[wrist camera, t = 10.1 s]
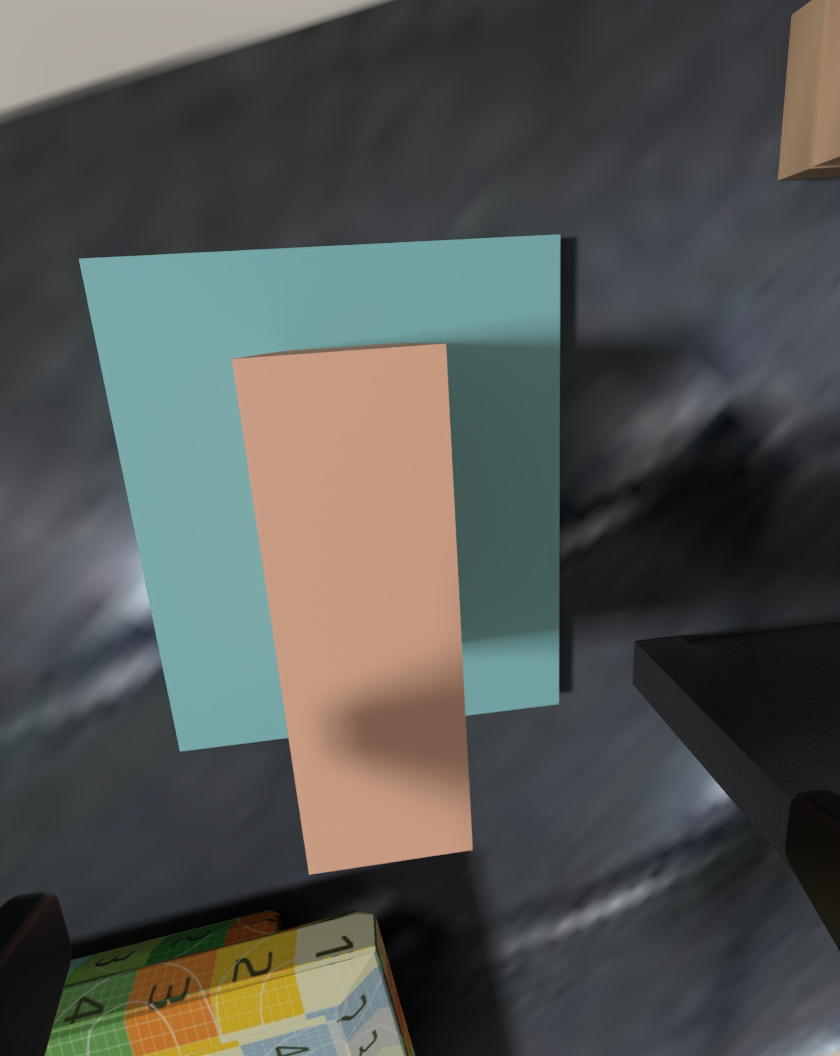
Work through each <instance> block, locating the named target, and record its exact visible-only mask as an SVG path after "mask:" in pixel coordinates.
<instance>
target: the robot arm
mask: <svg viewBox="0 0 840 1056" xmlns="http://www.w3.org/2000/svg"><path fill="white" fill-rule="evenodd" d="M784 846H785V853H786V857H787V860H788V862H789V864H790V866H791V868H792V870H793V872H794V873H795V875H796V877H797V879H798V880H799V882H800V884H801V885H802V887H803V889H804V891H805V892H806V894H807V896H808V898H809V899H810V901H811V903H812V904H813V906H814V908H815V910H816V911H817V913H818V915H819V916H820V918H821V920H822V922H823V923H824V925H825V927H826V928H827V930H828V932H829V934H830V935H831V937H832V939H833V940H834V942H835V944H836V946H837V947H838V949H839V951H840V795H838V794H836V793H834V792H831V791H828V790H815V791H807V792H800V793H797V794H795V795H794V796H793V798H792V799H791V802H790V807H789V814H788V821H787V828H786V835H785V844H784ZM71 952H72V951H71V942H70V938H69V935H68V931H67V928H66V924H65V921H64V917H63V913H62V910H61V906H60V903H59V900H58V898H57V896H56V895H55V894H54V893H53V892H49V891H44V892H37V893H29V894H21V895H18V896H15V897H13V898H11V899H10V900H8V901H7V902H6V903H5V904H3V905H2V906H1V907H0V1056H45V1054H46V1051H47V1047H48V1043H49V1040H50V1036H51V1033H52V1029H53V1026H54V1022H55V1018H56V1015H57V1011H58V1008H59V1004H60V1001H61V997H62V993H63V990H64V986H65V983H66V979H67V976H68V972H69V968H70V963H71Z"/></svg>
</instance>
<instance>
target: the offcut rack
mask: <svg viewBox="0 0 840 1056" xmlns="http://www.w3.org/2000/svg"><path fill="white" fill-rule="evenodd" d="M633 685H634V686H635V687H636V688H637V689H638V690H639V692H640V693H641V694H642V695H643V696H644V697H645V699H646V700H647V701H648V702H649V703H650V704H651V706H652V707H653V708H654V709H655V710H656V711H657V713H658V714H659V715H660V716H661V717H662V719H663V720H664V721H665V722H666V723H667V724H668V726H669V727H670V728H671V729H672V730H673V731H674V733H675V734H676V735H677V736H678V737H679V738H680V740H681V741H682V742H683V743H684V744H685V746H686V747H687V748H688V749H689V750H690V751H691V753H692V754H693V755H694V756H695V757H696V758H697V760H698V761H699V762H700V763H701V764H702V765H703V767H704V768H705V769H706V770H707V771H708V772H709V774H710V775H711V776H712V777H713V778H714V780H715V781H716V782H717V783H718V784H719V785H720V787H721V788H722V789H723V790H724V791H725V792H726V794H727V795H728V796H729V797H730V798H731V799H732V801H733V802H734V803H735V804H736V805H737V806H738V808H739V809H740V810H741V811H742V812H743V814H744V815H745V816H746V817H747V818H748V819H749V821H750V822H751V823H752V824H753V825H754V826H755V828H756V829H757V830H758V831H759V832H760V833H761V835H762V836H763V837H764V838H765V839H766V841H767V842H768V843H769V844H770V845H771V846H772V848H773V849H774V850H775V851H776V852H777V853H778V855H779V856H780V857H781V858H782V859H783V860H784V862H785V863H786V864H787V865H788V866H789V867H790V869H791V870H792V868H791V866H790V864H789V862H788V860H787V857H786V853H785V846H784V844H785V835H786V828H787V821H788V814H789V807H790V802H791V799H792V798H793V796H794V795H795V794H797V793H800V792H807V791H815V790H828V791H831V792H834V793H836V794H838V795H840V623H835V624H826V625H818V626H809V627H801V628H792V629H784V630H775V631H767V632H758V633H750V634H741V635H733V636H724V637H716V638H707V639H699V640H690V641H686V640H685V639H683V638H682V637H681V636H679V637H670V638H662V639H653V640H644V641H636V642H635V653H634V677H633ZM792 871H793V870H792Z"/></svg>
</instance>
